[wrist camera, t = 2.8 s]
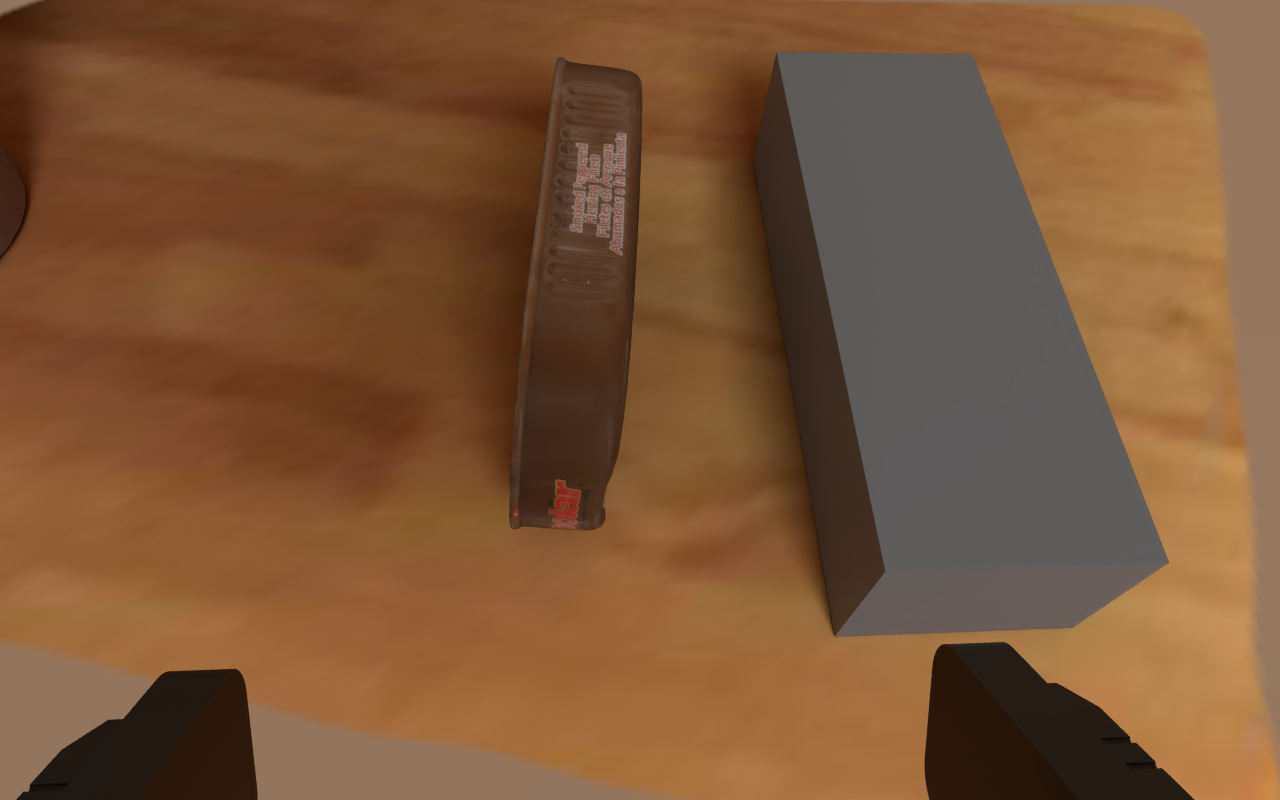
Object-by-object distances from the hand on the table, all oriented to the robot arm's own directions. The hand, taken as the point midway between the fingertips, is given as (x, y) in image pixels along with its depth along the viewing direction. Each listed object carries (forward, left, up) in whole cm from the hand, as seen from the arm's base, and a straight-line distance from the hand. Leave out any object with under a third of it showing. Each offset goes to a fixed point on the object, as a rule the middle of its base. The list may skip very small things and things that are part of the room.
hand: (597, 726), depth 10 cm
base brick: (+10, +15, -14) cm, 23 cm away
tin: (0, +15, -14) cm, 20 cm away
